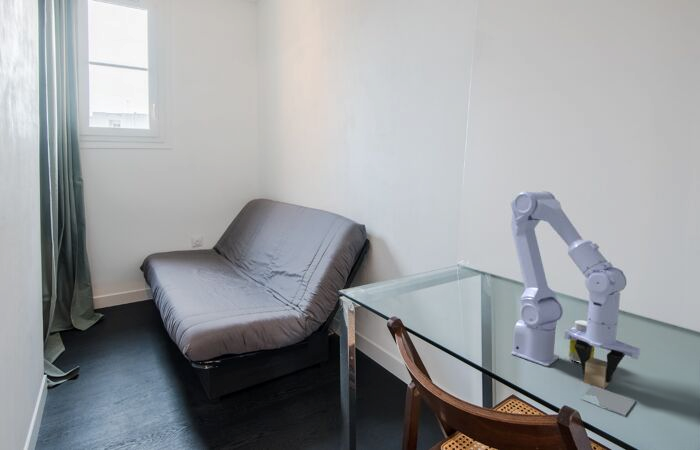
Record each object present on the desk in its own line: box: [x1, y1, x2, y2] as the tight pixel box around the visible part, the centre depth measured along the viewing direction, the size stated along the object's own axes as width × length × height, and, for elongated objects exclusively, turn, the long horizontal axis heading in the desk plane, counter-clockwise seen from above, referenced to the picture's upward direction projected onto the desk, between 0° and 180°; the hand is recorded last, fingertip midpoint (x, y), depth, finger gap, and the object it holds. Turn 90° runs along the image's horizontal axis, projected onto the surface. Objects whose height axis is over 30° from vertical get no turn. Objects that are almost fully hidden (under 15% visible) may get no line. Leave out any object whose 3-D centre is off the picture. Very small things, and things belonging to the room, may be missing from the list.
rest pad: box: [584, 385, 637, 417], centre depth 82 cm, size 8×8×1 cm
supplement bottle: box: [568, 319, 595, 362], centre depth 100 cm, size 6×6×10 cm
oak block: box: [583, 357, 610, 390], centre depth 89 cm, size 4×4×5 cm
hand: (596, 377), depth 89 cm, fingers closed on oak block, 4 cm apart
